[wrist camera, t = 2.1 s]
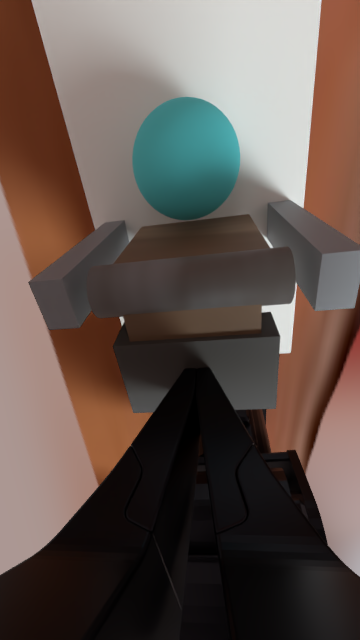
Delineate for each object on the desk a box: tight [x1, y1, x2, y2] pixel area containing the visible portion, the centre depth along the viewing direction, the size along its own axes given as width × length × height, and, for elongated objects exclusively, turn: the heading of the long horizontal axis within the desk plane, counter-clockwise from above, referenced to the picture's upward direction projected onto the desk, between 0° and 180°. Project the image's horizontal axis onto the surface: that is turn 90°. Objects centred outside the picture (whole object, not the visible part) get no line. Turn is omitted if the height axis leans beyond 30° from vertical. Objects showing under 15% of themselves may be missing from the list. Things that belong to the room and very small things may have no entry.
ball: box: [132, 97, 240, 220], centre depth 11 cm, size 4×4×4 cm
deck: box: [29, 0, 360, 353], centre depth 12 cm, size 17×10×11 cm, turn 8°
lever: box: [86, 214, 296, 413], centre depth 12 cm, size 5×6×7 cm
